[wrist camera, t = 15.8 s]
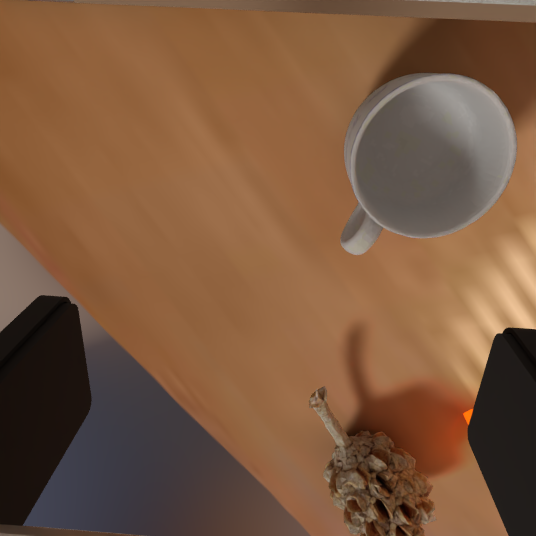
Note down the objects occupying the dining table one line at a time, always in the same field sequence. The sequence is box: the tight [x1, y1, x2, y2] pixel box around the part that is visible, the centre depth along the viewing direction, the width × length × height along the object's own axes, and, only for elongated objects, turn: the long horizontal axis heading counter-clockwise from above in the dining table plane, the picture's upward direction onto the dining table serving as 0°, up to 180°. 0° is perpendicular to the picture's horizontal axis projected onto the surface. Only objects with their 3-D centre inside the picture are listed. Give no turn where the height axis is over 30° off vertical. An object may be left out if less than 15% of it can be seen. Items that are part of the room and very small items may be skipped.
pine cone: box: [309, 386, 436, 536], centre depth 46 cm, size 22×10×10 cm, turn 36°
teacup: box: [341, 73, 517, 255], centre depth 35 cm, size 14×11×8 cm
